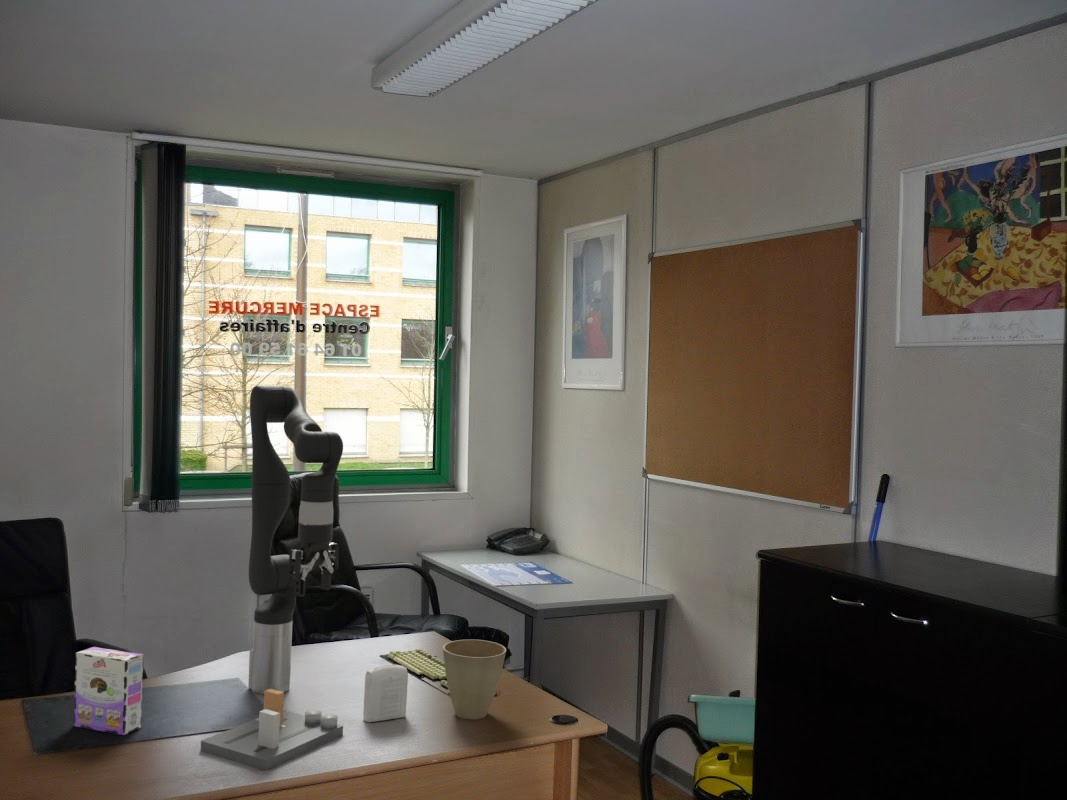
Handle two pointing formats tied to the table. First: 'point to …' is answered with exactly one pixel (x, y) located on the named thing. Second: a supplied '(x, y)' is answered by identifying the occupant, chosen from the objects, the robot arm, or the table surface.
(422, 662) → the keyboard
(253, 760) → the console
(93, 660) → the candy box
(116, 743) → the table surface
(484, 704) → the plant pot
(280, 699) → the fader cap
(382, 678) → the photo printer
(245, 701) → the table surface
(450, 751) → the table surface
